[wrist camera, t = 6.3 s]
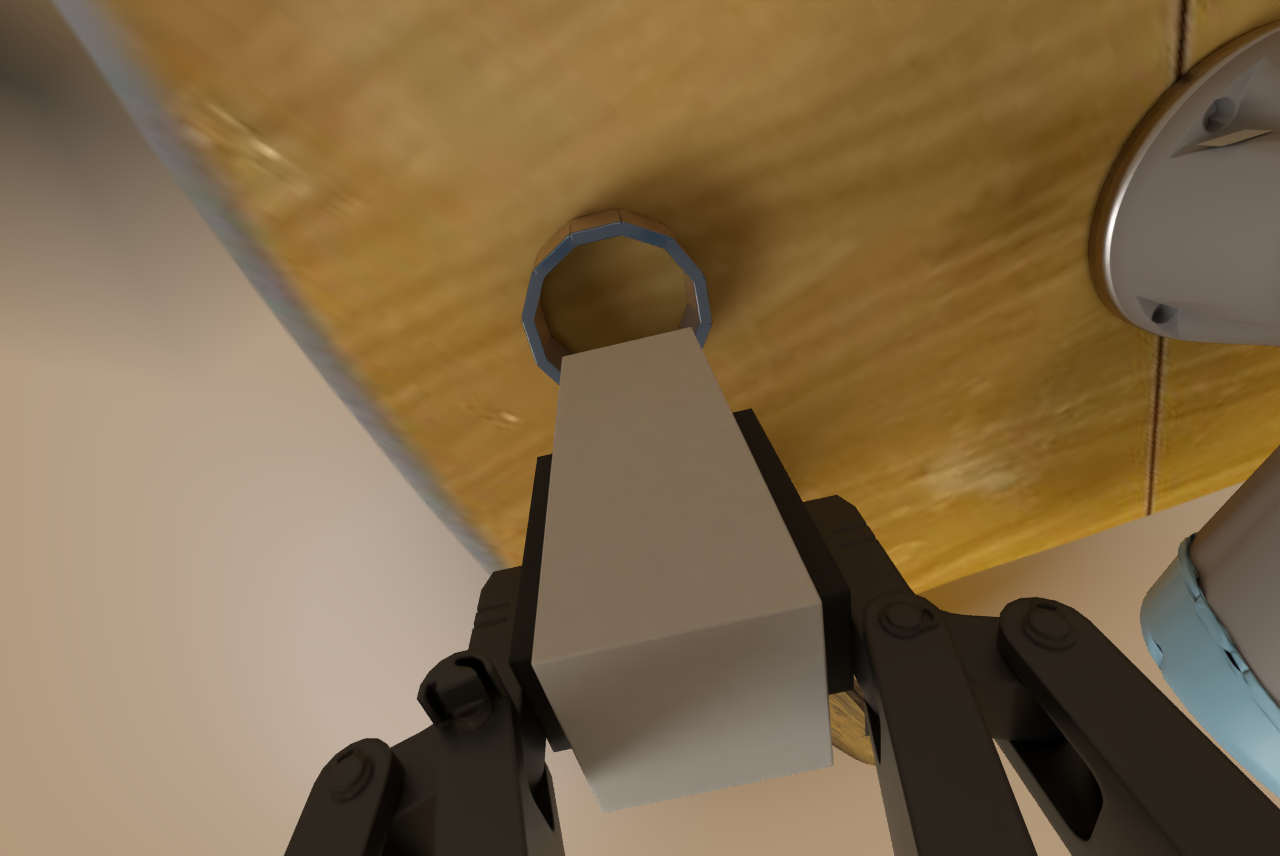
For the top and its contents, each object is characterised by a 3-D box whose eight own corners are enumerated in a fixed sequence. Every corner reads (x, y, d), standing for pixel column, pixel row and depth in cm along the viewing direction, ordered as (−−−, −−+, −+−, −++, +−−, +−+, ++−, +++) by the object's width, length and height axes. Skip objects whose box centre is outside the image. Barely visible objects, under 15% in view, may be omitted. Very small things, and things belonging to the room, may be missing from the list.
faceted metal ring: (681, 192, 28) (694, 203, 24) (708, 356, 32) (722, 382, 29) (506, 235, 28) (497, 250, 25) (557, 391, 32) (554, 421, 29)
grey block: (691, 325, 19) (823, 601, 8) (710, 437, 21) (834, 767, 10) (562, 356, 19) (529, 664, 8) (594, 463, 21) (601, 814, 11)
